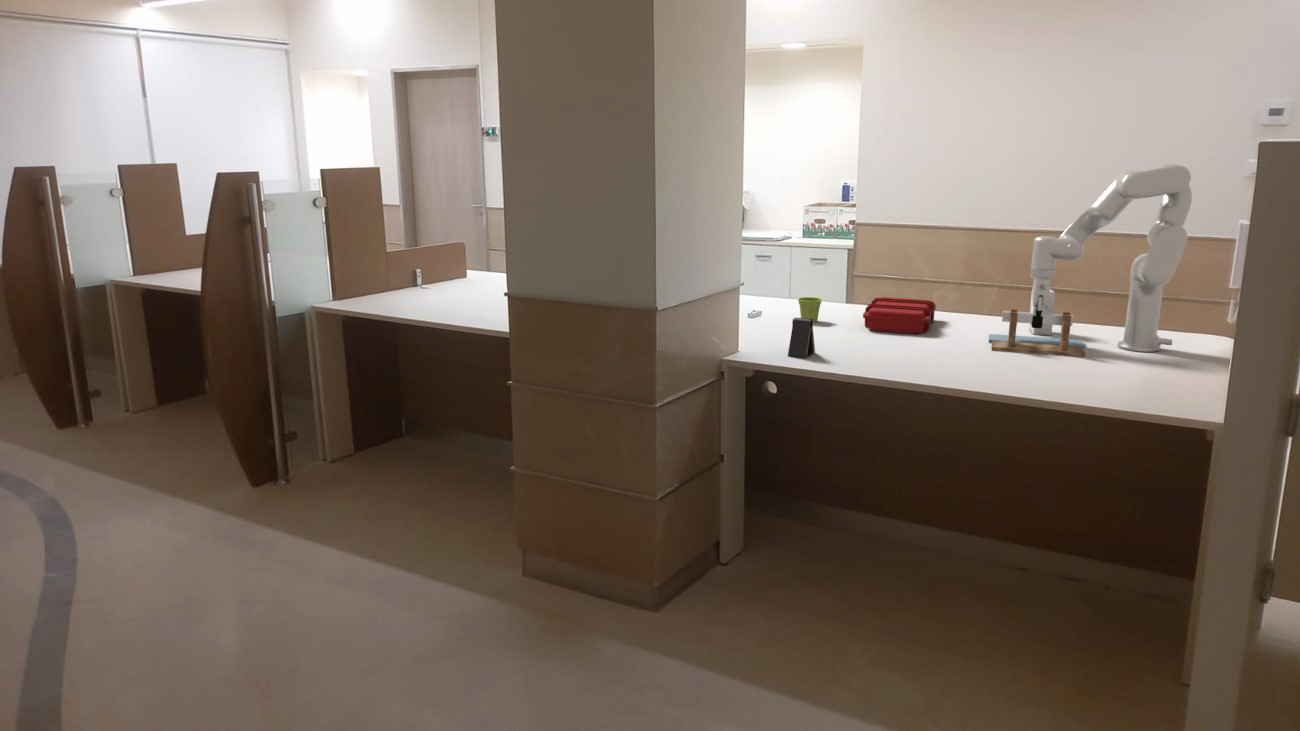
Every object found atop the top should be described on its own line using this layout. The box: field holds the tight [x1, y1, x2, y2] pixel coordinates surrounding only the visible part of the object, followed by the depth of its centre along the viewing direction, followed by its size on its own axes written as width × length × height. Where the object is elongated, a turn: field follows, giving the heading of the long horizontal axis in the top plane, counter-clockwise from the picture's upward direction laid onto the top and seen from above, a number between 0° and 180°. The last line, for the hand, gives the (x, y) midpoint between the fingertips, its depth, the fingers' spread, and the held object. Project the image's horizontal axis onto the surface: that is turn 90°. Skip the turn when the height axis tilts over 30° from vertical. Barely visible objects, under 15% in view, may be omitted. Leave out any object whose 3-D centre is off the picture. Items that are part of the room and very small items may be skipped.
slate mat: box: [988, 333, 1086, 350], centre depth 308 cm, size 30×10×1 cm, turn 69°
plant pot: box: [797, 296, 823, 323], centre depth 344 cm, size 9×9×9 cm
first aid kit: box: [862, 296, 937, 335], centre depth 337 cm, size 32×23×9 cm
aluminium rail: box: [1001, 310, 1074, 327], centre depth 306 cm, size 22×3×3 cm, turn 70°
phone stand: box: [787, 317, 816, 359], centre depth 291 cm, size 9×6×12 cm, turn 149°
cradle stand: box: [991, 308, 1086, 358], centre depth 296 cm, size 28×10×13 cm, turn 69°
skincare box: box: [1028, 288, 1056, 336], centre depth 322 cm, size 8×7×16 cm
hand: (1036, 326), depth 307 cm, fingers closed on aluminium rail, 3 cm apart
